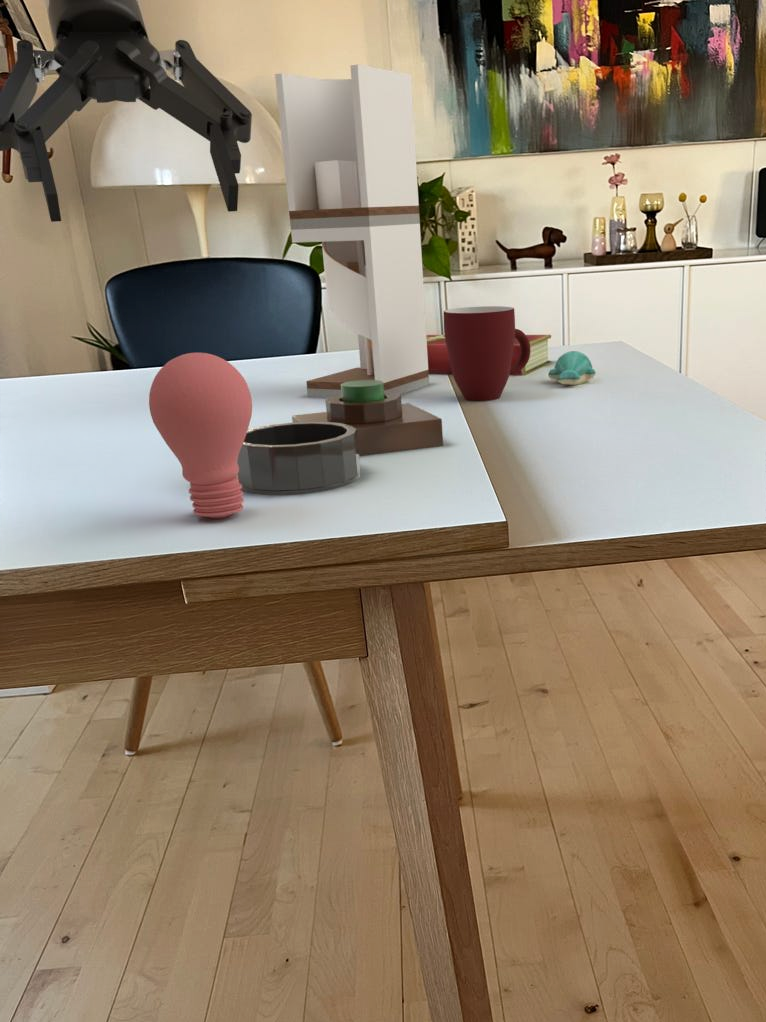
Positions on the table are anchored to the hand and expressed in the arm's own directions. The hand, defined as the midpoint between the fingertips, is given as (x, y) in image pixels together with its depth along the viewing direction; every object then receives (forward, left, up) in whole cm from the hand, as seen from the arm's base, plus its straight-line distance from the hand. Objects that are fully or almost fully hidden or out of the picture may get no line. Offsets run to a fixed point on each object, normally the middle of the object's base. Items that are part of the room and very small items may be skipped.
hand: (146, 203), depth 82 cm
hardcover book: (+44, +47, -22) cm, 68 cm away
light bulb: (+1, -14, -22) cm, 26 cm away
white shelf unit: (+27, +36, -22) cm, 50 cm away
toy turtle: (+50, +26, -22) cm, 60 cm away
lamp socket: (+9, -6, -22) cm, 24 cm away
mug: (+37, +23, -22) cm, 49 cm away
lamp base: (+18, +5, -22) cm, 29 cm away
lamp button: (+17, +5, -18) cm, 25 cm away
